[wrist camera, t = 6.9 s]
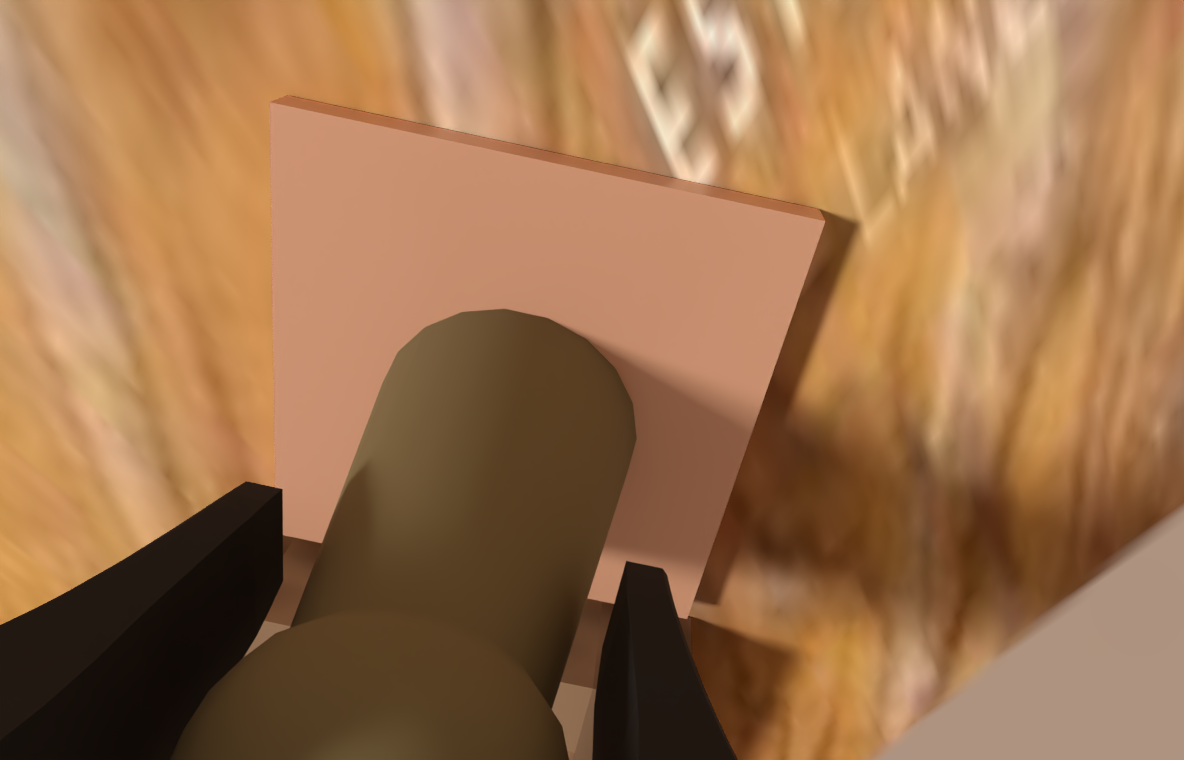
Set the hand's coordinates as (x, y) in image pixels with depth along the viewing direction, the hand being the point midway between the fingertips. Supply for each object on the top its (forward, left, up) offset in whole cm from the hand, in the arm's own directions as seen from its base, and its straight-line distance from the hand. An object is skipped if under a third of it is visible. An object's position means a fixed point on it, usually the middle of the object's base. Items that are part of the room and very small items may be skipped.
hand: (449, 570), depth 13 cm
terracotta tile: (0, 0, -6) cm, 6 cm away
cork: (0, -1, -6) cm, 6 cm away
